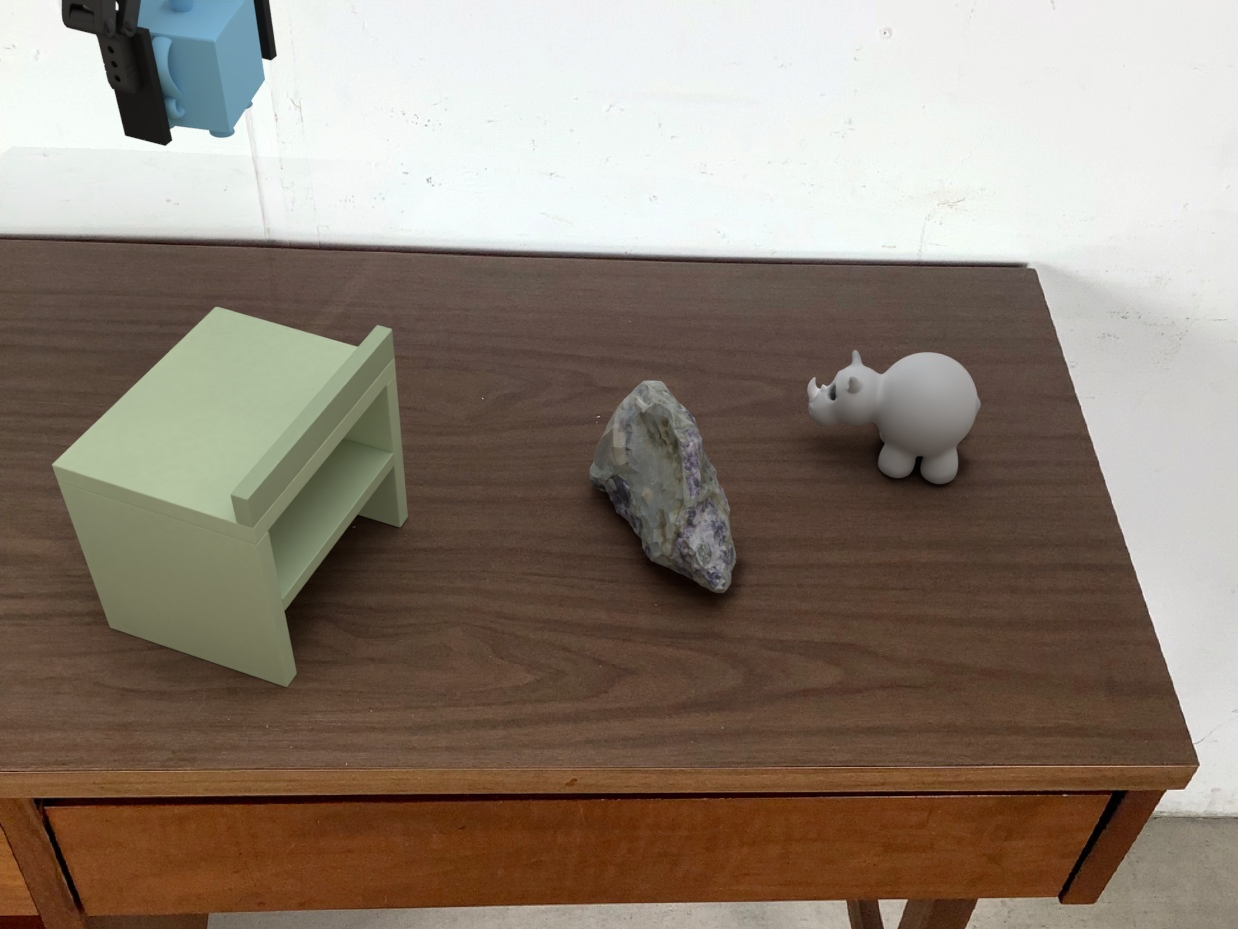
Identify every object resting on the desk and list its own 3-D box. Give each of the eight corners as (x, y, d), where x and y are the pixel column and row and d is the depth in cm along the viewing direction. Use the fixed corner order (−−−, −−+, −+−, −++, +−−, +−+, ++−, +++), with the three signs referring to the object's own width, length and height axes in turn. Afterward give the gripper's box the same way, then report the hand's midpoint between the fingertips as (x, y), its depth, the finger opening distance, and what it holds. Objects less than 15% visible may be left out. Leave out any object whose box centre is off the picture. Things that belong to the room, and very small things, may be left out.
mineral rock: (727, 618, 81) (749, 502, 74) (561, 592, 82) (566, 475, 74) (744, 485, 90) (765, 369, 82) (594, 463, 90) (602, 345, 83)
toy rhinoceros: (801, 408, 96) (821, 312, 90) (959, 436, 96) (991, 341, 89) (791, 469, 92) (812, 372, 85) (957, 499, 91) (990, 404, 84)
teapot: (191, 59, 84) (168, -63, 79) (282, 70, 84) (265, -51, 79) (124, 147, 76) (93, 18, 71) (224, 160, 76) (202, 32, 71)
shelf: (109, 628, 77) (40, 434, 66) (249, 467, 87) (209, 277, 76) (287, 688, 75) (247, 499, 64) (408, 517, 85) (392, 328, 74)
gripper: (42, -262, 55) (150, 199, 71) (310, -367, 71) (348, 31, 87) (-107, -292, 56) (32, 168, 72) (189, -389, 72) (249, 8, 88)
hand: (204, 94), depth 80 cm, fingers closed on teapot, 12 cm apart
